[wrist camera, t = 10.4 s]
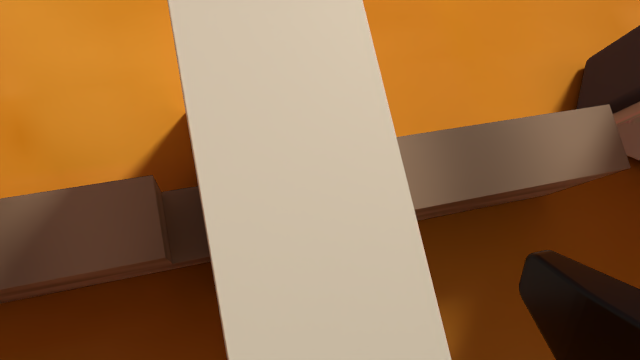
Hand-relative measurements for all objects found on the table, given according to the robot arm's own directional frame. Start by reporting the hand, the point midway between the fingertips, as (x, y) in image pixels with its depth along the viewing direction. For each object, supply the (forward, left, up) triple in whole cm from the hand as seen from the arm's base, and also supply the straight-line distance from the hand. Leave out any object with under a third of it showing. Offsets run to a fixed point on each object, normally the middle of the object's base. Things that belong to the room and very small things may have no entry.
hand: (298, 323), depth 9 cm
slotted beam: (+1, +3, -7) cm, 8 cm away
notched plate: (+1, +3, -7) cm, 8 cm away
